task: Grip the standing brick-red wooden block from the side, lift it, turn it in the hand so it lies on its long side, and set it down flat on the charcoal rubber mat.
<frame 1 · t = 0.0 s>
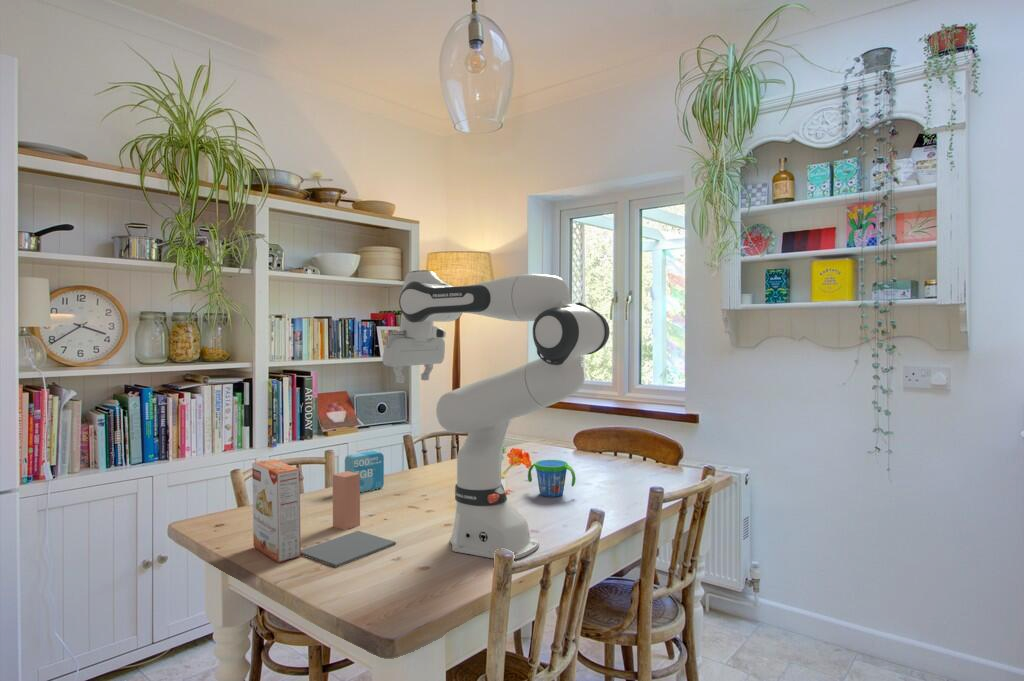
hand: (412, 381, 167), 39 cm above the table, tool pointing down, fingers open, 8 cm apart
mat: (347, 548, 148), on the table
block: (346, 525, 165), on the table
data package: (364, 490, 201), on the table
cracker box: (276, 553, 146), on the table
snack cup: (551, 495, 197), on the table
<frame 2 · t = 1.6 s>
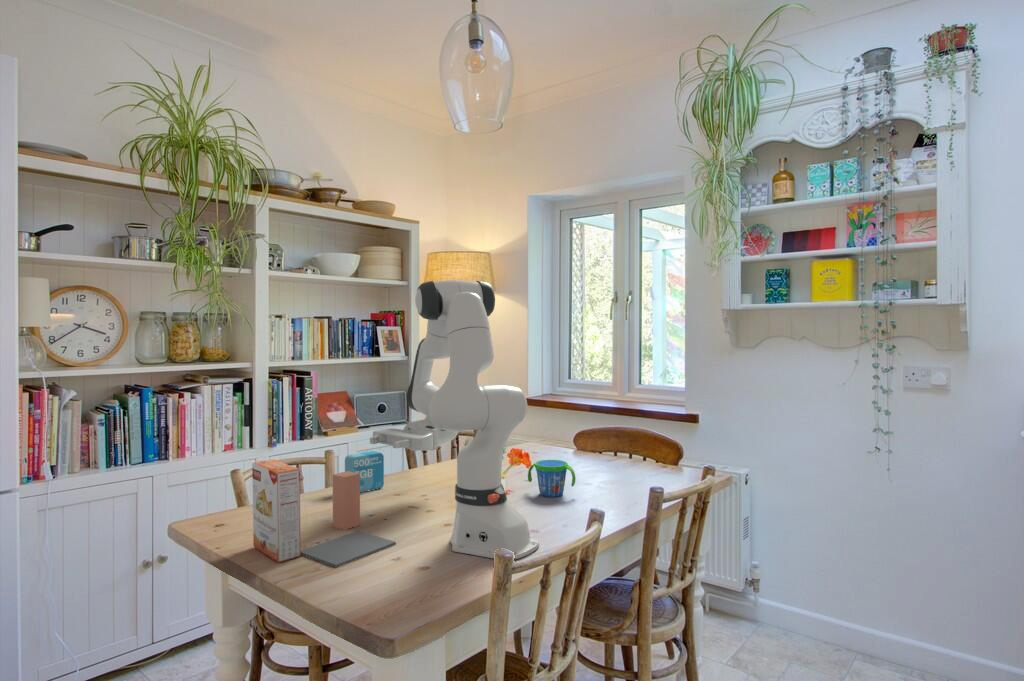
hand: (382, 443, 175), 20 cm above the table, tool horizontal, fingers open, 8 cm apart
nothing on the table moved.
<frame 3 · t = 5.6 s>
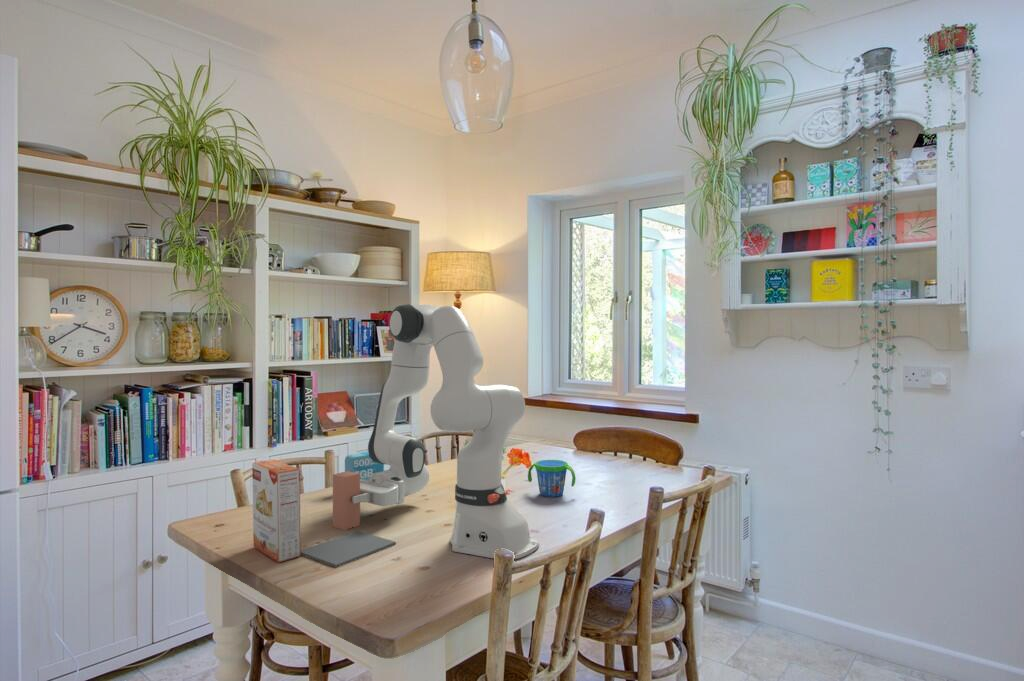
hand: (343, 498, 164), 8 cm above the table, tool horizontal, fingers closed on block, 5 cm apart
block: (346, 525, 165), on the table, touching gripper
everything else where it was.
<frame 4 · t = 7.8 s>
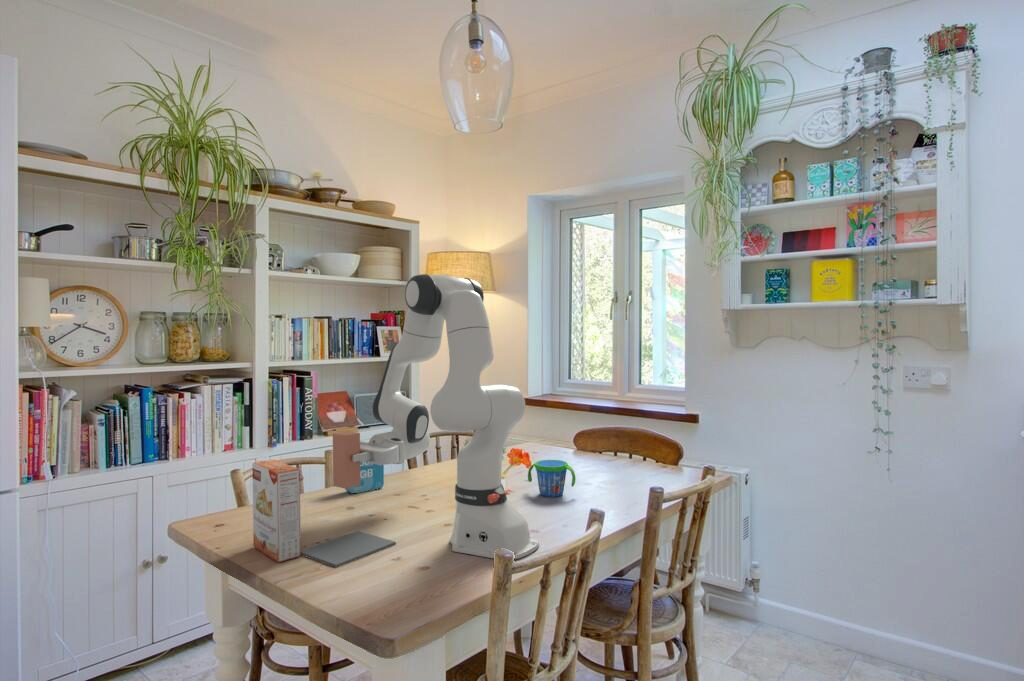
hand: (343, 457, 164), 19 cm above the table, tool horizontal, fingers closed on block, 5 cm apart
block: (346, 485, 165), point 11 cm above the table, touching gripper
everything else where it was.
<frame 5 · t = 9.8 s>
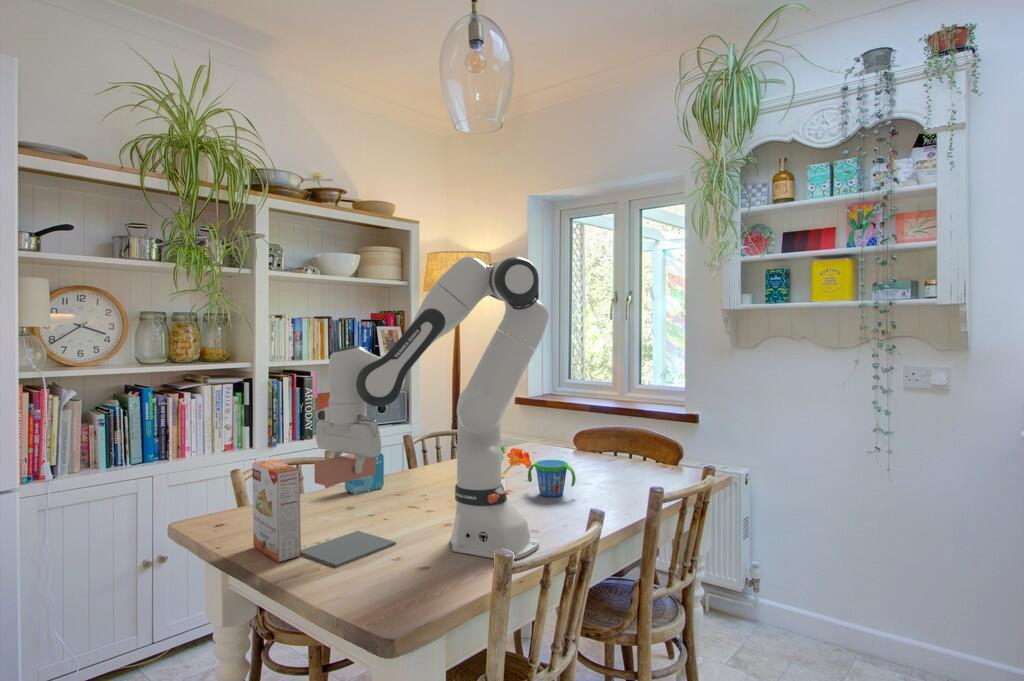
hand: (348, 471, 148), 19 cm above the table, tool pointing down, fingers closed on block, 5 cm apart
block: (321, 473, 142), point 20 cm above the table, tilted 90°, touching gripper
everything else where it was.
when the fingers open (4 cm above the table, at t = 12.5 s): block drops 1 cm, resting on mat.
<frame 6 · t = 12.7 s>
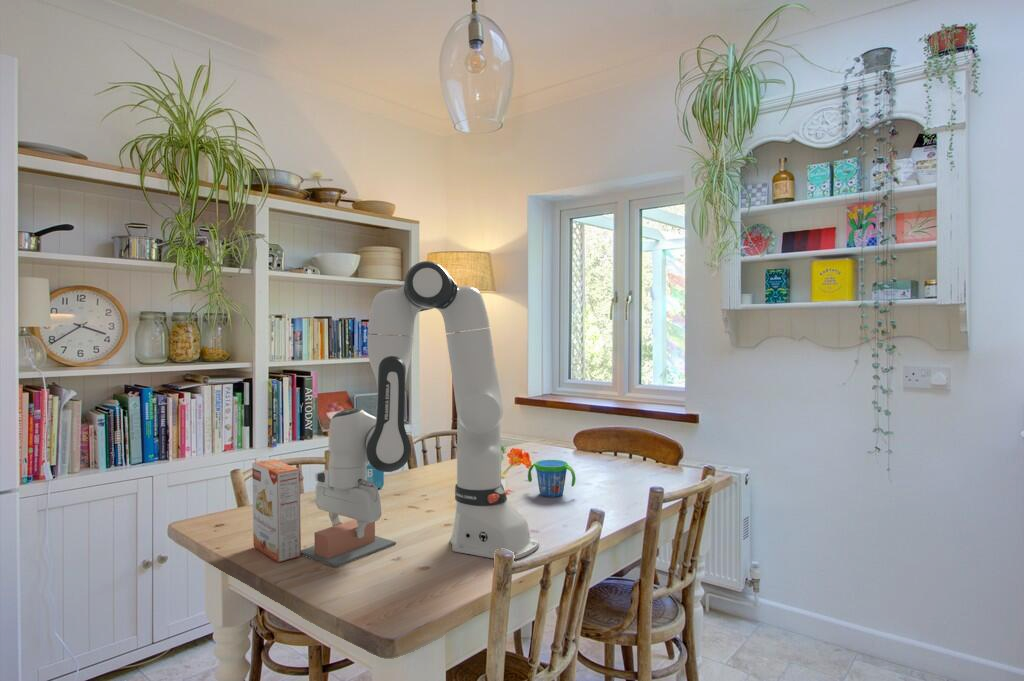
hand: (348, 533, 148), 4 cm above the table, tool pointing down, fingers open, 7 cm apart
block: (321, 545, 142), point 3 cm above the table, tilted 90°, touching mat
everything else where it was.
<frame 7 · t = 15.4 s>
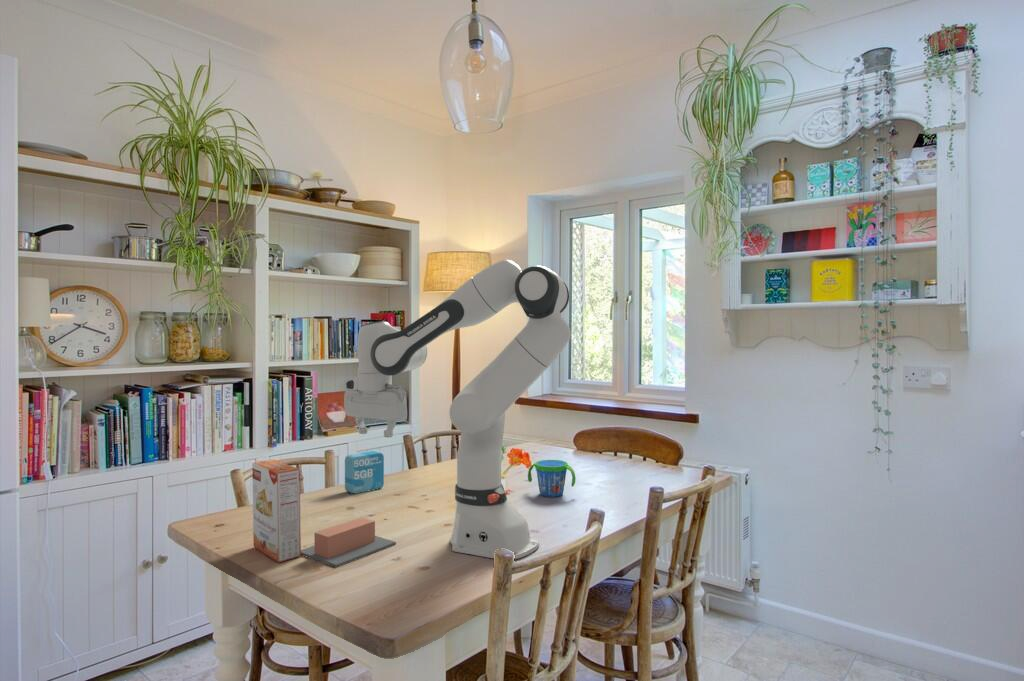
hand: (375, 435, 162), 25 cm above the table, tool pointing down, fingers open, 8 cm apart
nothing on the table moved.
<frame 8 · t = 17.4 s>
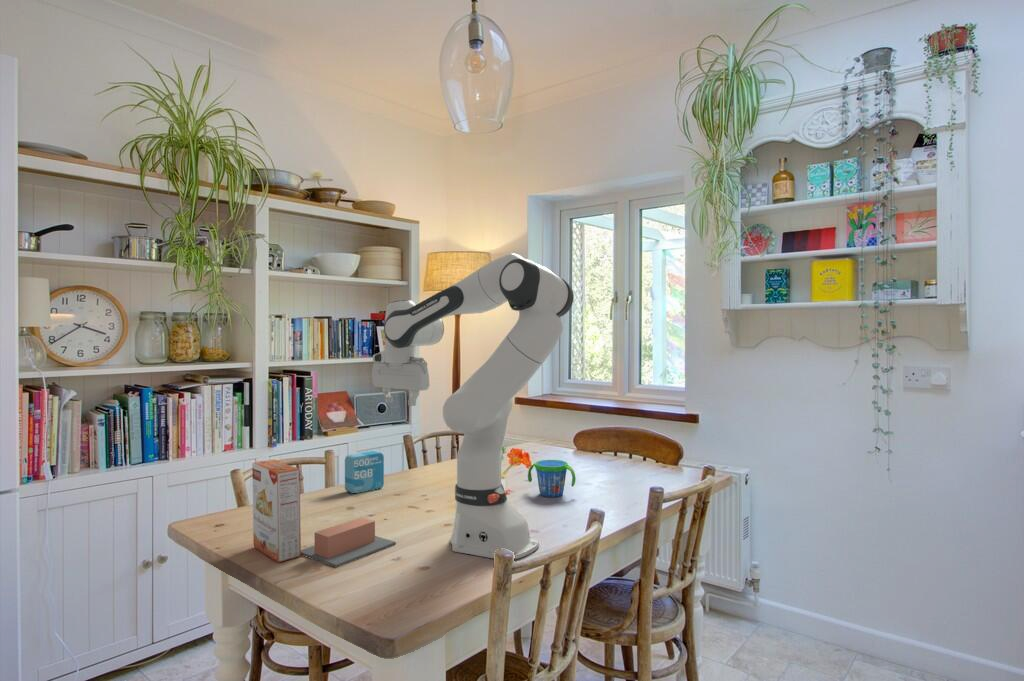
hand: (400, 404, 178), 31 cm above the table, tool pointing down, fingers open, 8 cm apart
nothing on the table moved.
at the end: block tilted 90°; block inside the target area on the mat (7.7 cm from its centre), point 3.1 cm above the mat's base; block touching mat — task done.
